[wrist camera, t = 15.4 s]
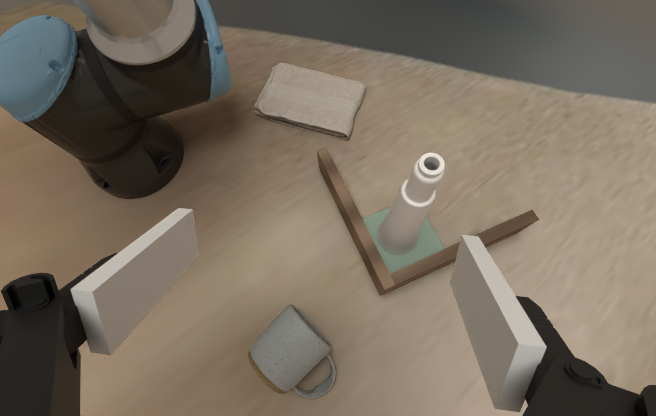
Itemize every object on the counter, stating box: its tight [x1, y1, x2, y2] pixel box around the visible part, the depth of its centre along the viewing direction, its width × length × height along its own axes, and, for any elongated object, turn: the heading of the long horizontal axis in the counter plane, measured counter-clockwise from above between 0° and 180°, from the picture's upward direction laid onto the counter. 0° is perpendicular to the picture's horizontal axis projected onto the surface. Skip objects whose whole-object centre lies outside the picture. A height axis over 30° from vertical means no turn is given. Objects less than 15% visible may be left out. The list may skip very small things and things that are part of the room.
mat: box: [363, 206, 445, 274], centre depth 50 cm, size 10×10×1 cm
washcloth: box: [254, 62, 366, 140], centre depth 59 cm, size 12×18×3 cm, turn 72°
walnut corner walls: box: [317, 147, 539, 296], centre depth 49 cm, size 22×22×6 cm
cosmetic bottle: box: [377, 153, 445, 255], centre depth 40 cm, size 6×6×22 cm
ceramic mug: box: [248, 305, 336, 399], centre depth 41 cm, size 11×8×8 cm
